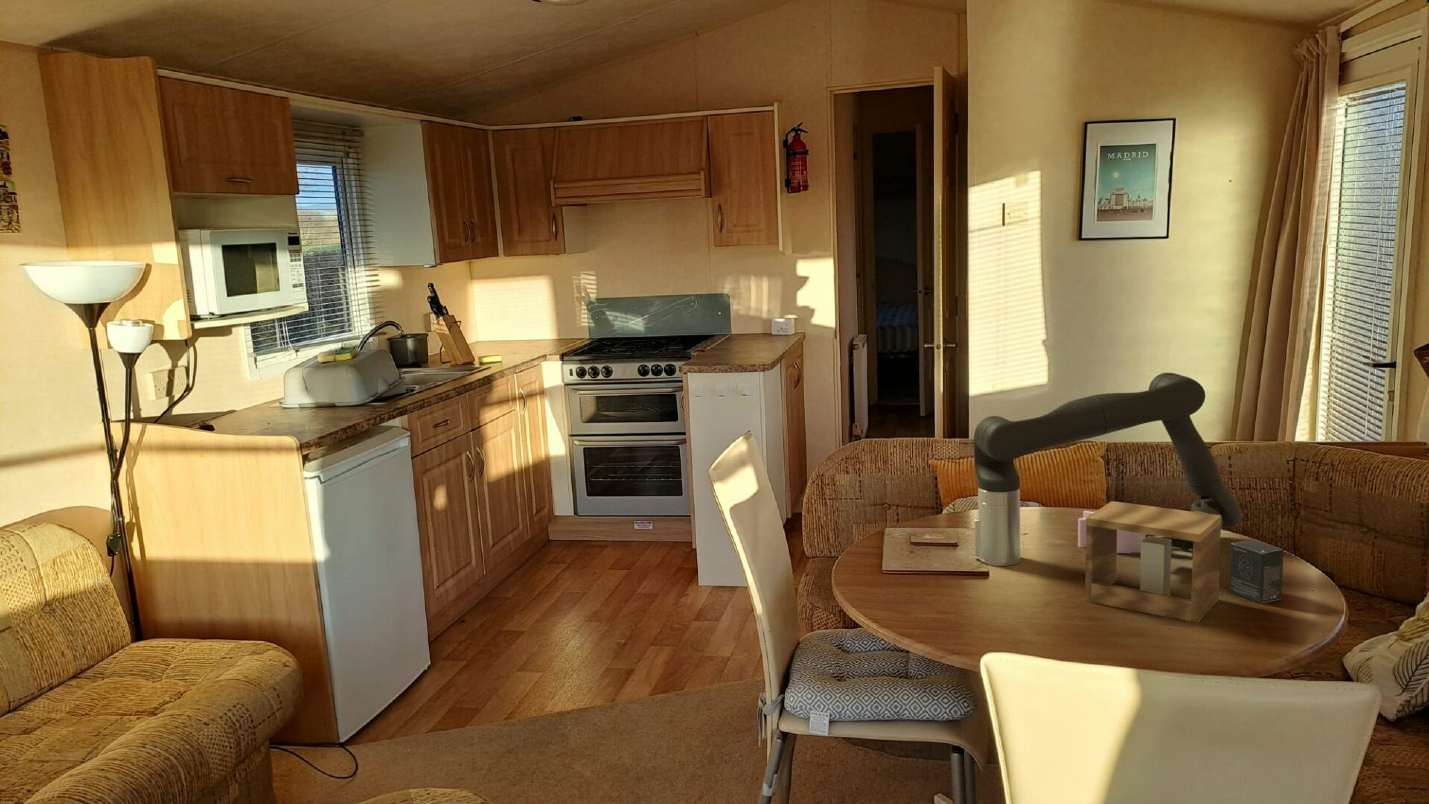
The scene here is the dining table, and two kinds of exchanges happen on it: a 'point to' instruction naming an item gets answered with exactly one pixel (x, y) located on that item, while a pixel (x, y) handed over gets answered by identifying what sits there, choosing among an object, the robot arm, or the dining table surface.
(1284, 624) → the dining table surface
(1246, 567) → the box
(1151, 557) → the block
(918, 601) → the dining table surface
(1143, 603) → the shelf
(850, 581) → the dining table surface
